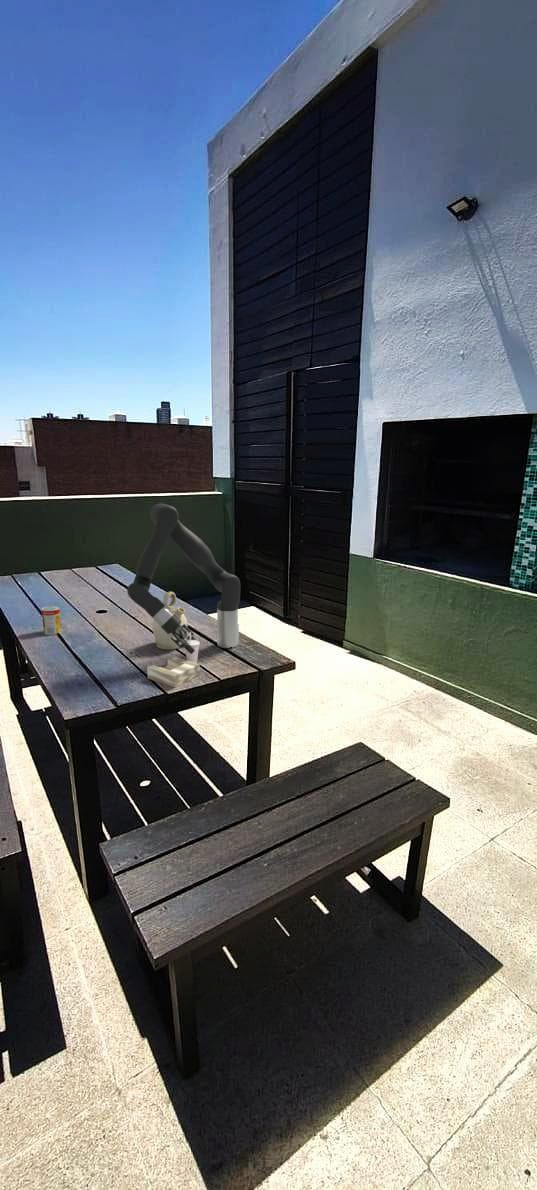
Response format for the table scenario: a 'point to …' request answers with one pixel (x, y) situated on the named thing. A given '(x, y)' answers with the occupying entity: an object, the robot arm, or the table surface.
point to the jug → (160, 635)
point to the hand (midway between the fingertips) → (195, 648)
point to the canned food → (51, 620)
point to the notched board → (174, 672)
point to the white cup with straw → (194, 655)
